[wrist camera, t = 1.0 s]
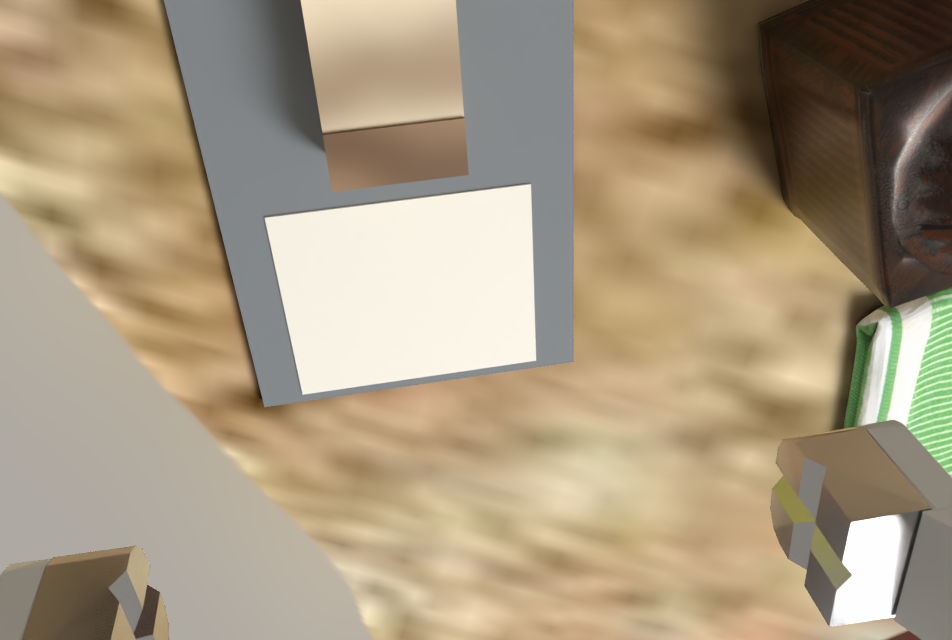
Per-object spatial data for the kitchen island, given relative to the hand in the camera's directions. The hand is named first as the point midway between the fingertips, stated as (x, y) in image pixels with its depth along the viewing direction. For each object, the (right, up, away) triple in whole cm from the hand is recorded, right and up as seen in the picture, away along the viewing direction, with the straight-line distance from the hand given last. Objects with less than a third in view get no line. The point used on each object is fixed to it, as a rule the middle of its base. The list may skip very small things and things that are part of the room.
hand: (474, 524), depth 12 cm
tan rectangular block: (-4, +14, +25) cm, 29 cm away
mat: (-4, +9, +29) cm, 31 cm away
